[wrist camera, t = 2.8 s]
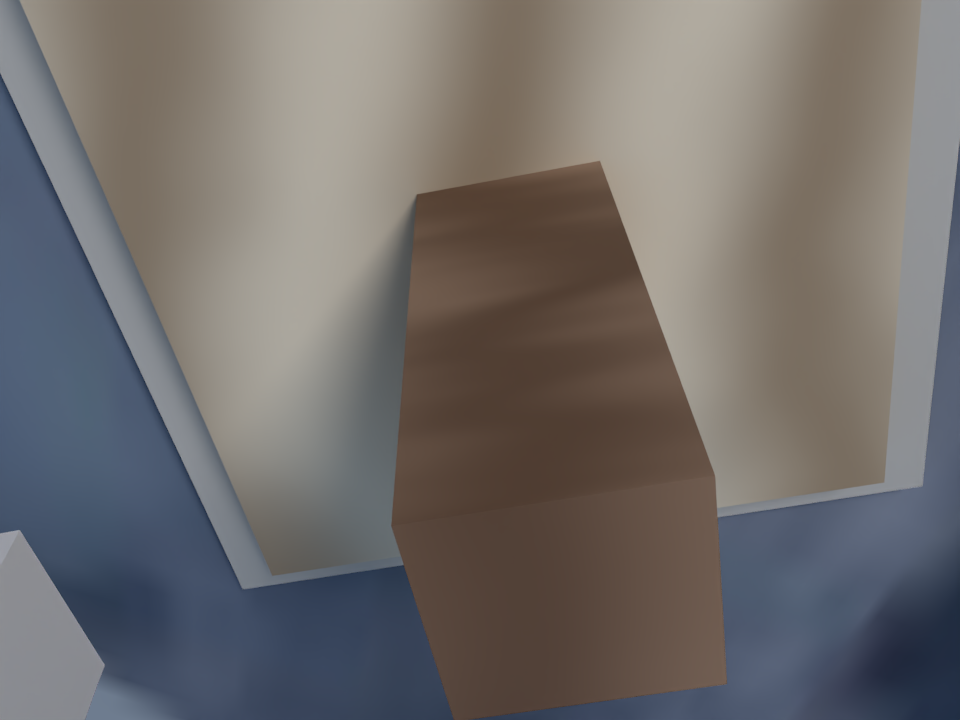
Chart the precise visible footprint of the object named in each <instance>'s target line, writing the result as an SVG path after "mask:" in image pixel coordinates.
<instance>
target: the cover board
mask: <svg viewBox="0 0 960 720" xmlns="http://www.w3.org/2000/svg"><path fill="white" fill-rule="evenodd" d="M921 1H922V0H20V2H21V5H22V7H23V9H24V11H25V14H26V16H27V18H28V21H29V23H30V25H31V27H32V30H33V32H34V34H35V36H36V39H37V41H38V43H39V46H40V48H41V50H42V52H43V55H44V57H45V59H46V62H47V64H48V66H49V68H50V71H51V73H52V75H53V77H54V80H55V82H56V84H57V87H58V89H59V91H60V93H61V96H62V98H63V100H64V103H65V105H66V107H67V109H68V112H69V114H70V116H71V118H72V121H73V123H74V125H75V128H76V130H77V132H78V134H79V137H80V139H81V141H82V144H83V146H84V148H85V150H86V153H87V155H88V157H89V159H90V162H91V164H92V166H93V169H94V171H95V173H96V175H97V178H98V180H99V182H100V184H101V187H102V189H103V191H104V194H105V196H106V198H107V200H108V203H109V205H110V207H111V210H112V212H113V214H114V216H115V219H116V221H117V223H118V225H119V228H120V230H121V232H122V235H123V237H124V239H125V241H126V244H127V246H128V248H129V251H130V253H131V255H132V257H133V260H134V262H135V264H136V266H137V269H138V271H139V273H140V276H141V278H142V280H143V282H144V285H145V287H146V289H147V292H148V294H149V296H150V298H151V301H152V303H153V305H154V307H155V310H156V312H157V314H158V317H159V319H160V321H161V323H162V326H163V328H164V330H165V333H166V335H167V337H168V339H169V342H170V344H171V346H172V348H173V351H174V353H175V355H176V358H177V360H178V362H179V364H180V367H181V369H182V371H183V374H184V376H185V378H186V380H187V383H188V385H189V387H190V389H191V392H192V394H193V396H194V399H195V401H196V403H197V405H198V408H199V410H200V412H201V415H202V417H203V419H204V421H205V424H206V426H207V428H208V430H209V433H210V435H211V437H212V440H213V442H214V444H215V446H216V449H217V451H218V453H219V456H220V458H221V460H222V462H223V465H224V467H225V469H226V471H227V474H228V476H229V478H230V481H231V483H232V485H233V487H234V490H235V492H236V494H237V497H238V499H239V501H240V503H241V506H242V508H243V510H244V512H245V515H246V517H247V519H248V522H249V524H250V526H251V528H252V531H253V533H254V535H255V538H256V540H257V542H258V544H259V547H260V549H261V551H262V553H263V556H264V558H265V560H266V563H267V565H268V567H269V569H270V572H271V574H272V576H275V575H282V574H288V573H295V572H302V571H308V570H315V569H321V568H328V567H334V566H341V565H347V564H354V563H361V562H367V561H374V560H380V559H387V558H393V557H400V556H401V558H402V561H403V564H404V567H405V570H406V573H407V577H408V580H409V583H410V586H411V589H412V592H413V595H414V598H415V601H416V604H417V607H418V610H419V614H420V617H421V620H422V623H423V626H424V629H425V632H426V635H427V638H428V641H429V644H430V648H431V651H432V654H433V657H434V660H435V663H436V666H437V669H438V672H439V675H440V678H441V681H442V685H443V688H444V691H445V694H446V697H447V700H448V703H449V706H450V709H451V712H452V715H453V719H454V720H470V719H477V718H484V717H492V716H499V715H506V714H513V713H521V712H528V711H535V710H543V709H550V708H557V707H564V706H572V705H579V704H586V703H593V702H601V701H608V700H615V699H622V698H630V697H637V696H644V695H652V694H659V693H666V692H673V691H681V690H688V689H695V688H702V687H710V686H717V685H724V684H727V676H726V658H725V641H724V623H723V605H722V587H721V570H720V552H719V534H718V516H717V508H721V507H727V506H734V505H741V504H747V503H754V502H760V501H767V500H773V499H780V498H786V497H793V496H800V495H806V494H813V493H819V492H826V491H832V490H839V489H845V488H852V487H859V486H865V485H872V484H878V483H884V481H885V468H886V455H887V442H888V429H889V416H890V403H891V390H892V377H893V364H894V351H895V338H896V325H897V312H898V299H899V287H900V274H901V261H902V248H903V235H904V222H905V209H906V196H907V183H908V170H909V157H910V144H911V131H912V118H913V105H914V92H915V79H916V66H917V53H918V40H919V27H920V14H921Z"/></svg>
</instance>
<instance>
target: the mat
mask: <svg viewBox="0 0 960 720" xmlns="http://www.w3.org/2000/svg"><path fill="white" fill-rule="evenodd" d="M0 74H1V76H2V78H3V80H4V82H5V84H6V86H7V88H8V91H9V93H10V95H11V97H12V99H13V101H14V103H15V105H16V108H17V110H18V112H19V114H20V116H21V118H22V120H23V122H24V125H25V127H26V129H27V131H28V133H29V135H30V137H31V140H32V142H33V144H34V146H35V148H36V150H37V152H38V154H39V157H40V159H41V161H42V163H43V165H44V167H45V169H46V171H47V174H48V176H49V178H50V180H51V182H52V184H53V186H54V188H55V191H56V193H57V195H58V197H59V199H60V201H61V203H62V206H63V208H64V210H65V212H66V214H67V216H68V218H69V220H70V223H71V225H72V227H73V229H74V231H75V233H76V235H77V237H78V240H79V242H80V244H81V246H82V248H83V250H84V252H85V254H86V257H87V259H88V261H89V263H90V265H91V267H92V269H93V272H94V274H95V276H96V278H97V280H98V282H99V284H100V286H101V289H102V291H103V293H104V295H105V297H106V299H107V301H108V303H109V306H110V308H111V310H112V312H113V314H114V316H115V318H116V320H117V323H118V325H119V327H120V329H121V331H122V333H123V335H124V338H125V340H126V342H127V344H128V346H129V348H130V350H131V352H132V355H133V357H134V359H135V361H136V363H137V365H138V367H139V369H140V372H141V374H142V376H143V378H144V380H145V382H146V384H147V386H148V389H149V391H150V393H151V395H152V397H153V399H154V401H155V404H156V406H157V408H158V410H159V412H160V414H161V416H162V418H163V421H164V423H165V425H166V427H167V429H168V431H169V433H170V435H171V438H172V440H173V442H174V444H175V446H176V448H177V450H178V452H179V455H180V457H181V459H182V461H183V463H184V465H185V467H186V470H187V472H188V474H189V476H190V478H191V480H192V482H193V484H194V487H195V489H196V491H197V493H198V495H199V497H200V499H201V501H202V504H203V506H204V508H205V510H206V512H207V514H208V516H209V518H210V521H211V523H212V525H213V527H214V529H215V531H216V533H217V536H218V538H219V540H220V542H221V544H222V546H223V548H224V550H225V553H226V555H227V557H228V559H229V561H230V563H231V565H232V567H233V570H234V572H235V574H236V576H237V578H238V580H239V582H240V584H241V587H242V589H249V588H256V587H262V586H269V585H275V584H282V583H289V582H295V581H302V580H308V579H315V578H322V577H328V576H335V575H341V574H348V573H354V572H361V571H368V570H374V569H381V568H387V567H394V566H401V565H404V564H403V561H402V558H401V556H400V557H393V558H387V559H380V560H374V561H367V562H361V563H354V564H347V565H341V566H334V567H328V568H321V569H315V570H308V571H302V572H295V573H288V574H282V575H275V576H272V574H271V572H270V569H269V567H268V565H267V563H266V560H265V558H264V556H263V553H262V551H261V549H260V547H259V544H258V542H257V540H256V538H255V535H254V533H253V531H252V528H251V526H250V524H249V522H248V519H247V517H246V515H245V512H244V510H243V508H242V506H241V503H240V501H239V499H238V497H237V494H236V492H235V490H234V487H233V485H232V483H231V481H230V478H229V476H228V474H227V471H226V469H225V467H224V465H223V462H222V460H221V458H220V456H219V453H218V451H217V449H216V446H215V444H214V442H213V440H212V437H211V435H210V433H209V430H208V428H207V426H206V424H205V421H204V419H203V417H202V415H201V412H200V410H199V408H198V405H197V403H196V401H195V399H194V396H193V394H192V392H191V389H190V387H189V385H188V383H187V380H186V378H185V376H184V374H183V371H182V369H181V367H180V364H179V362H178V360H177V358H176V355H175V353H174V351H173V348H172V346H171V344H170V342H169V339H168V337H167V335H166V333H165V330H164V328H163V326H162V323H161V321H160V319H159V317H158V314H157V312H156V310H155V307H154V305H153V303H152V301H151V298H150V296H149V294H148V292H147V289H146V287H145V285H144V282H143V280H142V278H141V276H140V273H139V271H138V269H137V266H136V264H135V262H134V260H133V257H132V255H131V253H130V251H129V248H128V246H127V244H126V241H125V239H124V237H123V235H122V232H121V230H120V228H119V225H118V223H117V221H116V219H115V216H114V214H113V212H112V210H111V207H110V205H109V203H108V200H107V198H106V196H105V194H104V191H103V189H102V187H101V184H100V182H99V180H98V178H97V175H96V173H95V171H94V169H93V166H92V164H91V162H90V159H89V157H88V155H87V153H86V150H85V148H84V146H83V144H82V141H81V139H80V137H79V134H78V132H77V130H76V128H75V125H74V123H73V121H72V118H71V116H70V114H69V112H68V109H67V107H66V105H65V103H64V100H63V98H62V96H61V93H60V91H59V89H58V87H57V84H56V82H55V80H54V77H53V75H52V73H51V71H50V68H49V66H48V64H47V62H46V59H45V57H44V55H43V52H42V50H41V48H40V46H39V43H38V41H37V39H36V36H35V34H34V32H33V30H32V27H31V25H30V23H29V21H28V18H27V16H26V14H25V11H24V9H23V7H22V5H21V2H20V0H0ZM959 140H960V0H922V1H921V14H920V27H919V40H918V53H917V66H916V79H915V92H914V105H913V118H912V131H911V144H910V157H909V170H908V183H907V196H906V209H905V222H904V235H903V248H902V261H901V274H900V287H899V299H898V312H897V325H896V338H895V351H894V364H893V377H892V390H891V403H890V416H889V429H888V442H887V455H886V468H885V481H884V483H878V484H872V485H865V486H859V487H852V488H845V489H839V490H832V491H826V492H819V493H813V494H806V495H800V496H793V497H786V498H780V499H773V500H767V501H760V502H754V503H747V504H741V505H734V506H727V507H721V508H717V516H718V517H723V516H730V515H737V514H743V513H750V512H756V511H763V510H769V509H776V508H783V507H789V506H796V505H802V504H809V503H816V502H822V501H829V500H835V499H842V498H848V497H855V496H862V495H868V494H875V493H881V492H888V491H895V490H901V489H908V488H914V487H921V486H922V485H923V476H924V466H925V457H926V448H927V438H928V429H929V420H930V410H931V401H932V392H933V382H934V373H935V364H936V355H937V345H938V336H939V327H940V317H941V308H942V299H943V289H944V280H945V271H946V261H947V252H948V243H949V234H950V224H951V215H952V206H953V196H954V187H955V178H956V168H957V159H958V150H959Z"/></svg>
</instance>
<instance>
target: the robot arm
mask: <svg viewBox="0 0 960 720" xmlns="http://www.w3.org/2000/svg"><path fill="white" fill-rule="evenodd" d="M104 666H105V665H104V663H103V662H102V660H101V658H100V657H99V655H98V654H97V652H96V650H95V649H94V647H93V646H92V644H91V642H90V641H89V639H88V638H87V636H86V635H85V633H84V631H83V630H82V628H81V627H80V625H79V623H78V622H77V620H76V619H75V617H74V616H73V614H72V612H71V611H70V609H69V608H68V606H67V604H66V603H65V601H64V600H63V598H62V596H61V595H60V593H59V592H58V590H57V589H56V587H55V585H54V584H53V582H52V581H51V579H50V577H49V576H48V574H47V573H46V571H45V570H44V568H43V566H42V565H41V563H40V562H39V560H38V558H37V557H36V555H35V554H34V552H33V550H32V549H31V547H30V546H29V544H28V543H27V541H26V539H25V538H24V536H23V535H22V533H21V531H20V530H18V531H12V532H6V533H0V720H85V718H86V716H87V713H88V710H89V707H90V705H91V702H92V699H93V696H94V694H95V691H96V688H97V685H98V683H99V680H100V677H101V674H102V671H103V669H104Z"/></svg>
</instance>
